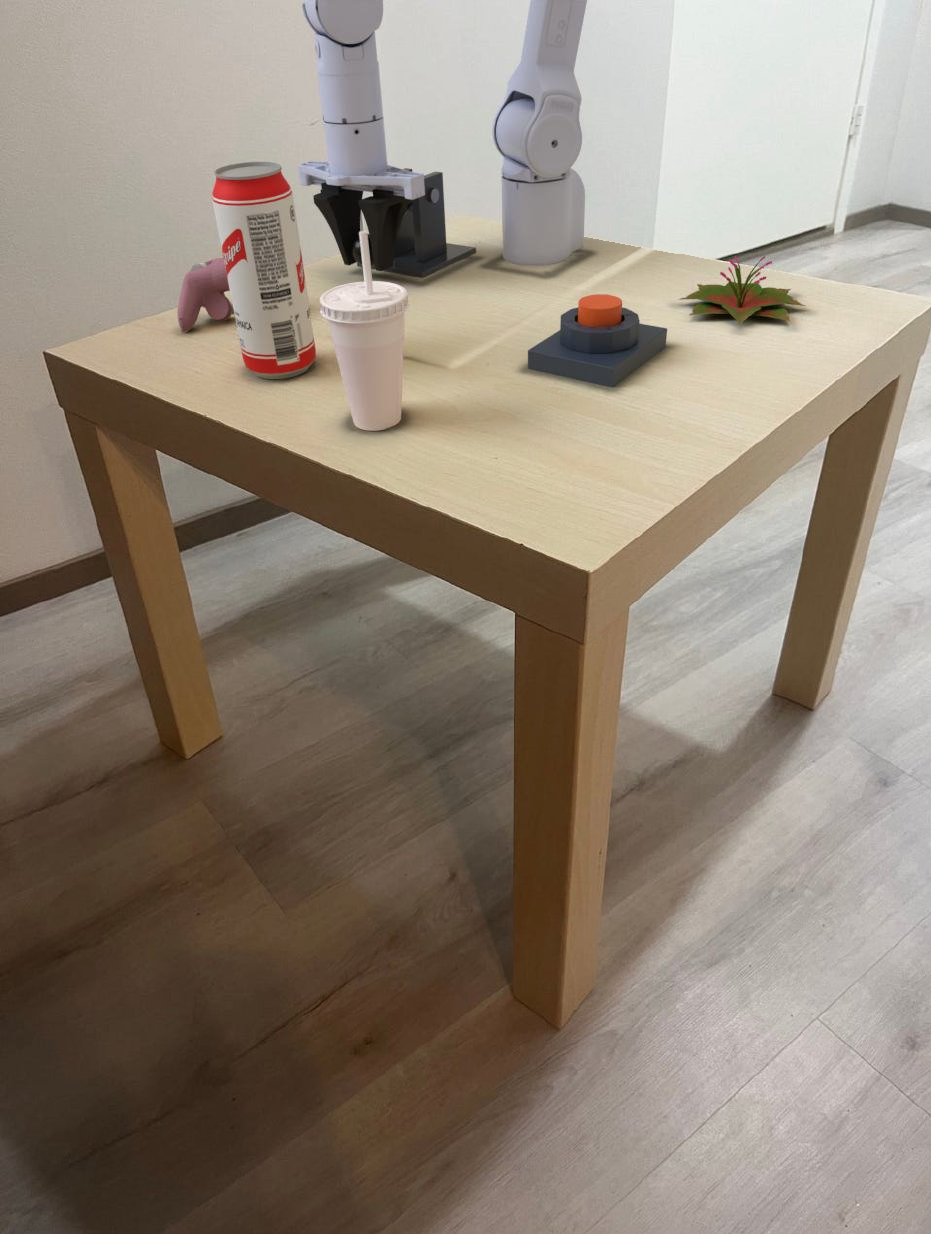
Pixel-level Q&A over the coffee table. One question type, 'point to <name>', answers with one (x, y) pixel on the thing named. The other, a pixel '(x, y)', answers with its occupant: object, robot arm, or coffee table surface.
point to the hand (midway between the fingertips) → (368, 265)
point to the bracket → (426, 235)
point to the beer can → (264, 268)
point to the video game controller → (204, 293)
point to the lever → (357, 248)
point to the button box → (597, 349)
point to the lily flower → (742, 297)
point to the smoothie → (369, 344)
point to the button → (599, 310)
